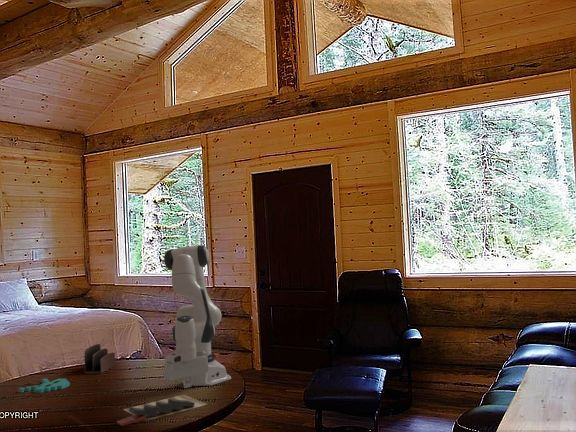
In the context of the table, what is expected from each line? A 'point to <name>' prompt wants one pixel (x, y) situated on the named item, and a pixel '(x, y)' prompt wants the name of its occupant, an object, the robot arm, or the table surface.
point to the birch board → (161, 414)
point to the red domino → (131, 419)
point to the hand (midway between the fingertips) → (187, 387)
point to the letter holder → (98, 360)
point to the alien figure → (47, 386)
